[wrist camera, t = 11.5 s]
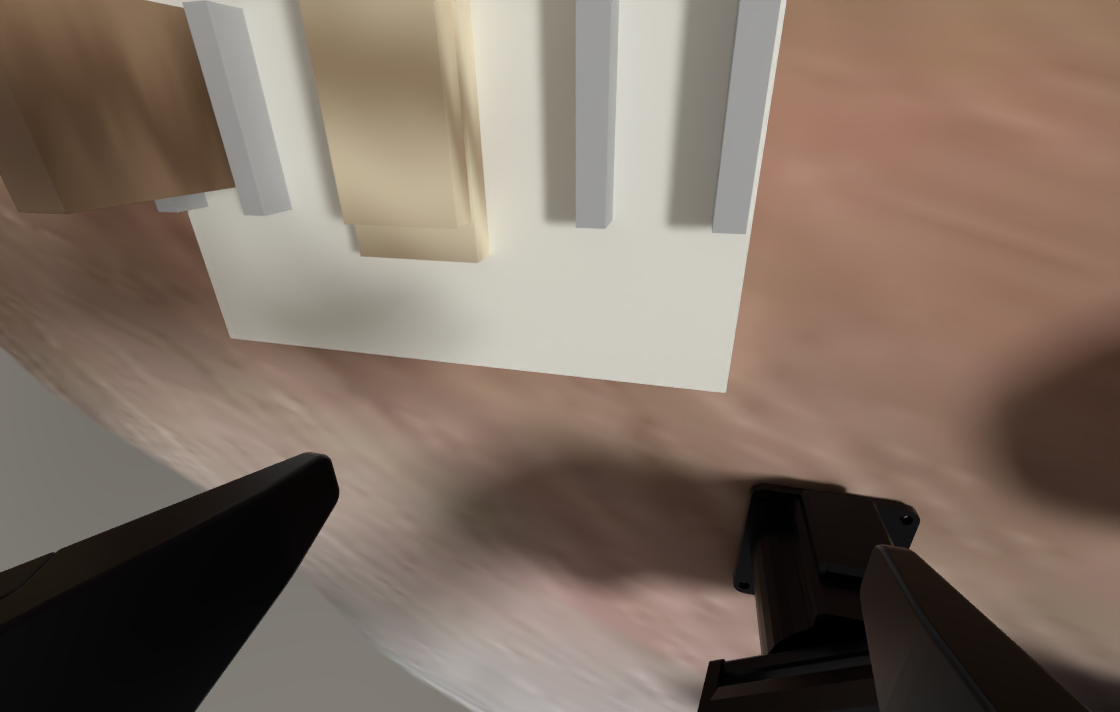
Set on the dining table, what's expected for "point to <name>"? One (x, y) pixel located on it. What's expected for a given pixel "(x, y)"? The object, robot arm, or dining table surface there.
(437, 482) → the dining table surface
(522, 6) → the rack
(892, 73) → the dining table surface
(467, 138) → the offcut stack
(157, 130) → the walnut panel
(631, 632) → the dining table surface
